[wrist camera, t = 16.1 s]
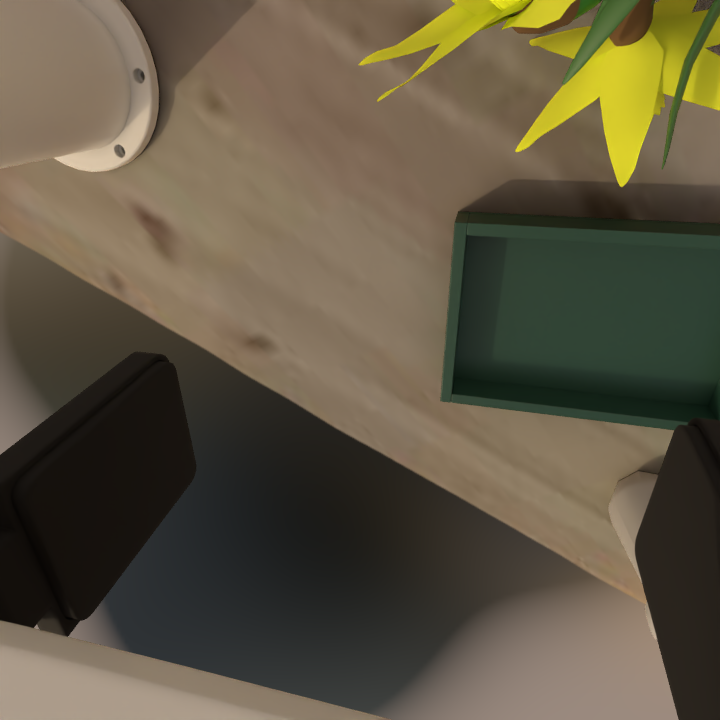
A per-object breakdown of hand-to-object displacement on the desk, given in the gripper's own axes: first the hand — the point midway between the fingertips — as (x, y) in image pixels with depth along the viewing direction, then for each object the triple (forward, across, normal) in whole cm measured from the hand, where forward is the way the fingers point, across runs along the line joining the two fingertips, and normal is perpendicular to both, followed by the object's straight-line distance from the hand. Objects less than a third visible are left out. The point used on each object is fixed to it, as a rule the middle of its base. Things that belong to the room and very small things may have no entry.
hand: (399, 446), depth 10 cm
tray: (+28, -9, +9) cm, 31 cm away
